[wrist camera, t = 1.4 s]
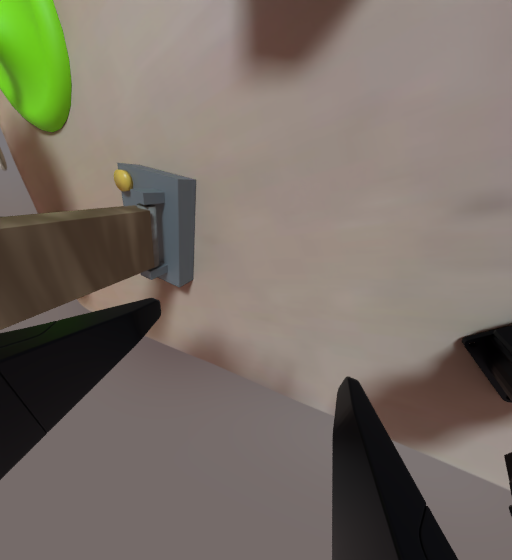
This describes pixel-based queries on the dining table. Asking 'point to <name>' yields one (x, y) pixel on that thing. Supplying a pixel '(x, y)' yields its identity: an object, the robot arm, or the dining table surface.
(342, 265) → the dining table surface
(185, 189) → the blue-grey base plate
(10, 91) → the wineglass
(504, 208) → the dining table surface
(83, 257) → the toggle lever
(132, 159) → the dining table surface
